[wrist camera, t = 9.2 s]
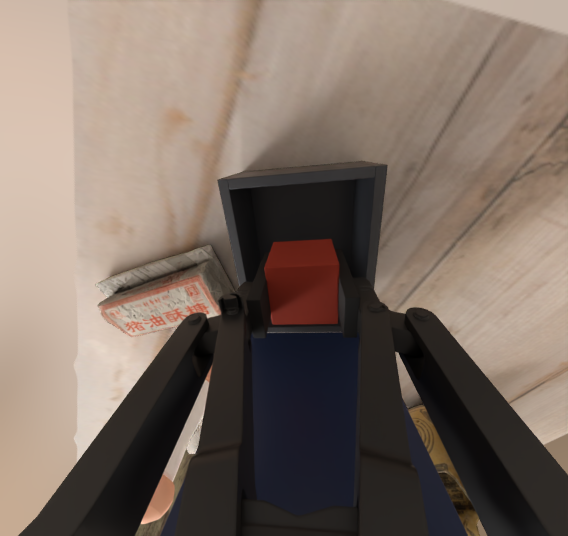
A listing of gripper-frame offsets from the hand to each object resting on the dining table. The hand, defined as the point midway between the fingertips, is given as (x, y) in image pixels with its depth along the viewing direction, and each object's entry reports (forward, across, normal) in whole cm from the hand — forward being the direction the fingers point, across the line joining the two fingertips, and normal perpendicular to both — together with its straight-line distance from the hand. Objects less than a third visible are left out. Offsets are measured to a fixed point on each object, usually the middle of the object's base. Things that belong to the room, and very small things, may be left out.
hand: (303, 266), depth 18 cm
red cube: (0, 0, 0) cm, 0 cm away
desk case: (+10, 0, -1) cm, 10 cm away
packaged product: (+10, -19, -8) cm, 23 cm away
